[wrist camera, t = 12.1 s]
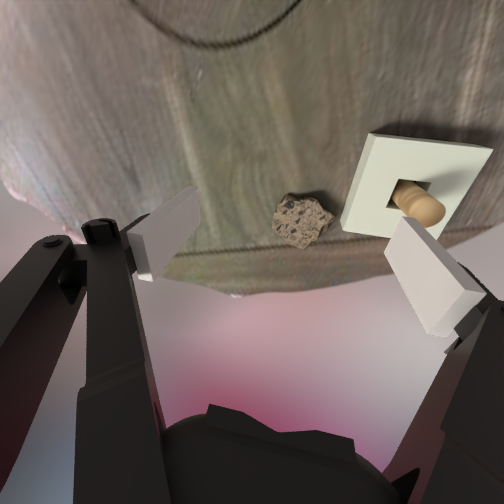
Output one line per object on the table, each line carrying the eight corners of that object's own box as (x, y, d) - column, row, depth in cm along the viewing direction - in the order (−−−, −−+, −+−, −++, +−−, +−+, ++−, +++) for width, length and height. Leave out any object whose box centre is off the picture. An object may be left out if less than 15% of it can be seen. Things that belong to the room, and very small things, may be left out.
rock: (296, 180, 44) (295, 187, 40) (338, 213, 46) (341, 223, 42) (264, 218, 50) (261, 227, 46) (303, 246, 52) (303, 257, 48)
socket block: (368, 132, 37) (376, 136, 34) (474, 144, 36) (493, 149, 32) (339, 220, 46) (343, 230, 43) (422, 232, 45) (433, 244, 41)
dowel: (391, 174, 40) (420, 199, 30) (415, 177, 40) (452, 203, 30) (382, 196, 42) (406, 225, 33) (405, 199, 42) (436, 229, 32)
